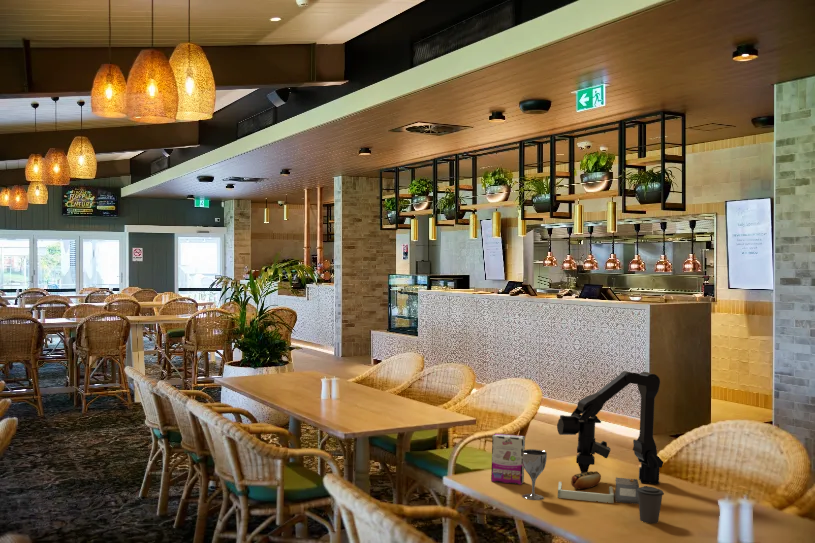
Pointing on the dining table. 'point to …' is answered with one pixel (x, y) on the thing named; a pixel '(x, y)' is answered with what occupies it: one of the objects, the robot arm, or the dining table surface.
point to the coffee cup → (649, 503)
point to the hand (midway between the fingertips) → (584, 478)
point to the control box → (626, 490)
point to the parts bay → (586, 495)
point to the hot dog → (585, 480)
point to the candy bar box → (507, 459)
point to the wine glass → (534, 468)
